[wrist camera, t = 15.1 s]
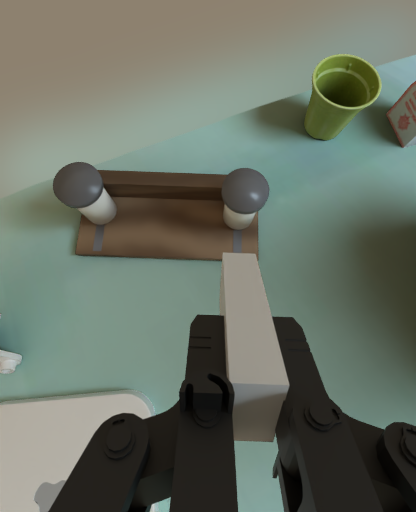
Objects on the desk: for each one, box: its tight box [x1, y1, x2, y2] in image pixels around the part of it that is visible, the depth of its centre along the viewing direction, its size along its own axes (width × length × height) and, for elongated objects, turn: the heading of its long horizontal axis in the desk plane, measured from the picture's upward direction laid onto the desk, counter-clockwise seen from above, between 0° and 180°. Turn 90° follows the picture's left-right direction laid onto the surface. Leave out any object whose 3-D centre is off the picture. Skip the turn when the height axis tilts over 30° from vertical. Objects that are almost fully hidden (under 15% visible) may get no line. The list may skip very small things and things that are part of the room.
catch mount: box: [75, 170, 258, 261], centre depth 39 cm, size 11×26×5 cm, turn 88°
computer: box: [0, 390, 159, 512], centre depth 32 cm, size 22×22×3 cm
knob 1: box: [53, 162, 117, 225], centre depth 37 cm, size 6×6×8 cm
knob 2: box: [222, 168, 269, 230], centre depth 36 cm, size 6×6×8 cm
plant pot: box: [304, 54, 381, 140], centre depth 42 cm, size 9×9×9 cm
